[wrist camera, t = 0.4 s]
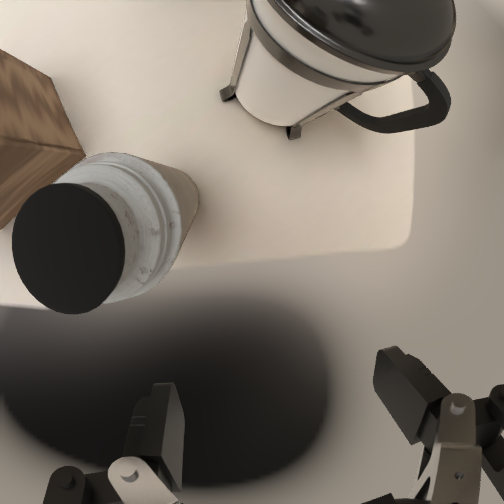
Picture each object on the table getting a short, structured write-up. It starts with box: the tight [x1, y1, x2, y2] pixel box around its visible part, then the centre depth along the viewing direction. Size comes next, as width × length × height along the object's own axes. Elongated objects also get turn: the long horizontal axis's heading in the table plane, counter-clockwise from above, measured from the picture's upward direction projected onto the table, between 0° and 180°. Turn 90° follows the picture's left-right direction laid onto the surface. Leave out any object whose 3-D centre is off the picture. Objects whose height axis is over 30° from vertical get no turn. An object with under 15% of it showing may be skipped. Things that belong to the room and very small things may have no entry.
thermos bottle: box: [12, 152, 199, 314], centre depth 23 cm, size 8×8×28 cm
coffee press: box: [219, 0, 456, 140], centre depth 20 cm, size 17×16×30 cm
